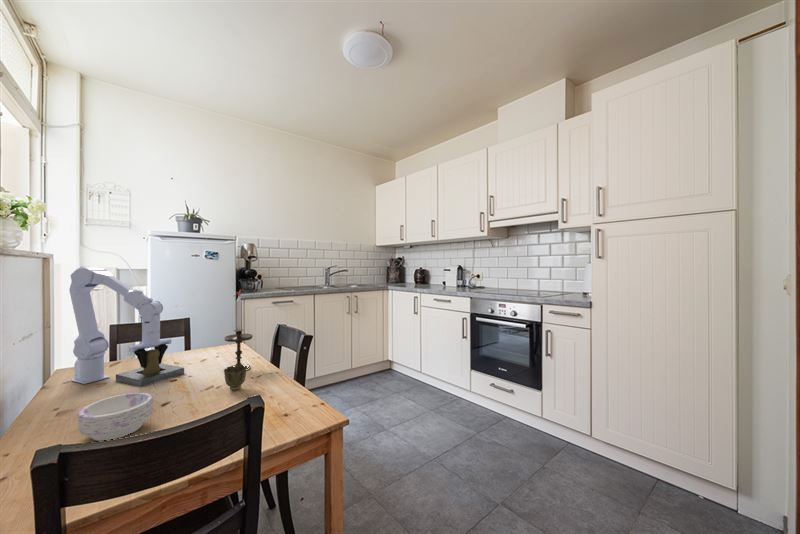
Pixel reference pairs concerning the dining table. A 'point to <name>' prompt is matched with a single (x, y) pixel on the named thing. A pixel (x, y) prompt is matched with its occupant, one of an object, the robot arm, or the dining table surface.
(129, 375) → the plate
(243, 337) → the candlestick
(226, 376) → the cup
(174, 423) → the dining table surface
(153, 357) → the olive tapered cylinder
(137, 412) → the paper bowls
